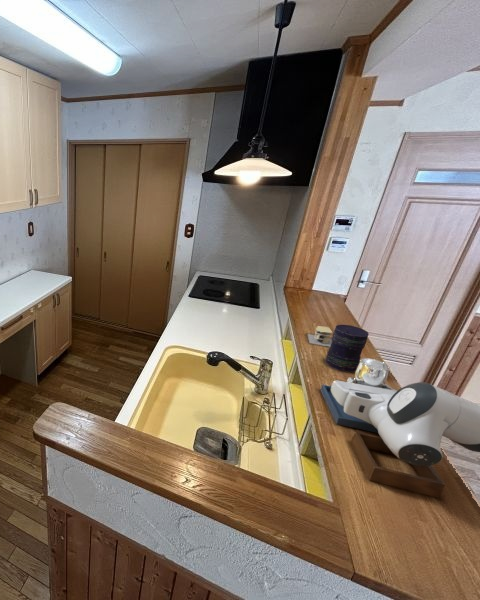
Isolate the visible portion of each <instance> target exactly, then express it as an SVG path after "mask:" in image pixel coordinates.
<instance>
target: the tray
mask: <svg viewBox="0 0 480 600" xmlns="http://www.w3.org/2000/svg"><path fill="white" fill-rule="evenodd" d="M331 386H332V385H328V384H327V385H326V384H321V387H320V393H321V395H322V397H323V399H324V401H325V404H326V406H327V407H328V410H329V412H330V414H331V416H332V417H333V420H334V422H335V424H336V425H339V426H343V427H349V428H353V429H359V430H363V431H366V432H367V431H368V432H371V433H377V434H379V433H378V429H376V428H375V427H374V425H372V424H370V423H368V422H366V421H364V420H361V419H359V418H356V417H354V416H351V415H348V414H346V413H345V412H344V410H343V409H344V407H343V406H342V405H340V404H339V403H338V402H337V401H336V399H335V398H334V396H333V395H332V393H331Z"/></svg>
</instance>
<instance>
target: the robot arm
mask: <svg viewBox="0 0 480 600" xmlns="http://www.w3.org/2000/svg"><path fill="white" fill-rule="evenodd" d="M355 383H356V381H355V380H354V377H353V378H352V377H347V380H346V381H343V380H338V379H337V380H334V381H332V383H331V385H330V386H331V393H332V395H333V396H334V398H335V399H336V401H337V402H338V403H339V404H340V405H342V406H343V407H344V409H343V410H344V412H345V413H346V414H348V415H351V416H354V417H356V418H359V419H361V420H364V421H366V422H368V423H370V424H372V425H374V427H375V428H376V429H378V433H377V434H378V435H379V437H381V438H382V440H383V441H384V443H385V444H386V445H387V447H388V448H389V449H390V450H391V451H392V452H393V453H394V454H393V455H394V456H395V457H396V458H398V459H399V460H401V461H403V462H404V463H407V464H410V465H412V466H413V465H417V466H431V467H433V466H435V465H438V464H440V463H441V462H442V460H443V451H442V448H441V443H442V437H444V438H446V439H448V440H450V441H451V442H453V443H455V444H457V445H458V446H460V447H462V448H464V449H467V450H468V451H471V452H475V453H480V403H478V402H473V401H471V400H468V399H465V398H464V397H461V396H458V395H456V394H453V393H452V392H450V391H447V390H445V389H443V388H441V387H439V386H436V385H433V384H431V383H429V382H413V383H410V384H406V385H405V386H402V387H401V388H399V389H395V388H393V387H392V386H389V385H388V383H385V384H384V386H383V388H378V387H372V386H366V385H361V384H355Z"/></svg>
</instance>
